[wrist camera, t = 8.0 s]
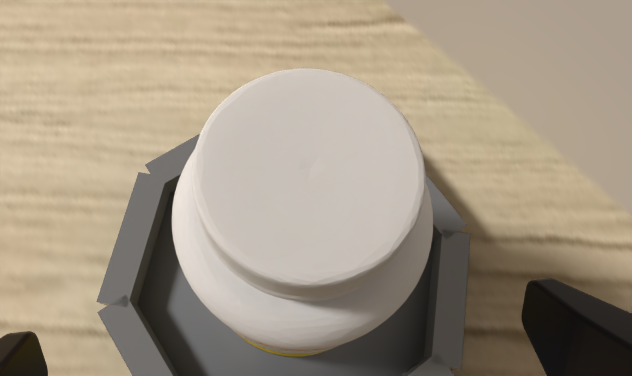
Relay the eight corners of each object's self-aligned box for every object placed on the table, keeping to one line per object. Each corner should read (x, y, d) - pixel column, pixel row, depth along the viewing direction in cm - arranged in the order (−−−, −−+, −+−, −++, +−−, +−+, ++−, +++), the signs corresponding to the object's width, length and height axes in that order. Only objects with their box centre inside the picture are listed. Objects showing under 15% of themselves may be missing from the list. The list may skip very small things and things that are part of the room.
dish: (517, 316, 18) (537, 311, 17) (240, 544, 15) (236, 562, 14) (328, 80, 21) (332, 59, 20) (65, 232, 18) (46, 220, 17)
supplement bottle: (241, 187, 19) (203, -5, 9) (384, 223, 19) (494, 67, 9) (194, 336, 17) (81, 287, 7) (353, 378, 17) (452, 384, 7)
